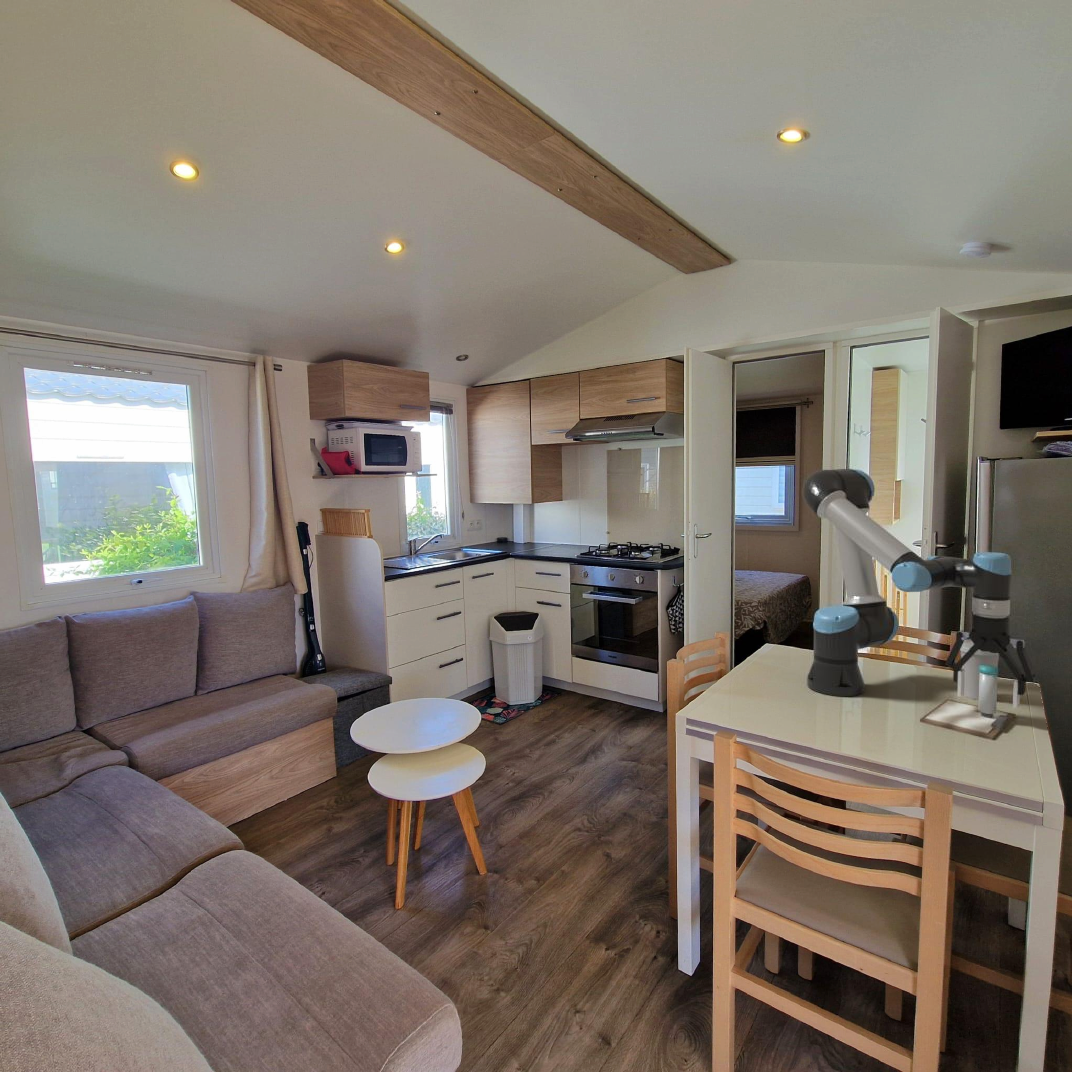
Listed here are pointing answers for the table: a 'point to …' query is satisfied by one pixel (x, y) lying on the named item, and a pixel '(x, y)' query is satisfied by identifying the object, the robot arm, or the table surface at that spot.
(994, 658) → the coffee cup
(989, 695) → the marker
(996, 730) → the clipboard
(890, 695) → the table surface
